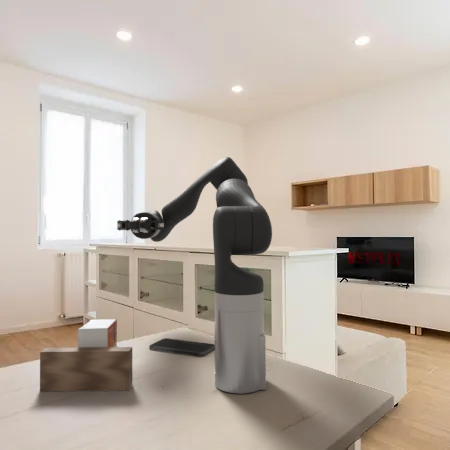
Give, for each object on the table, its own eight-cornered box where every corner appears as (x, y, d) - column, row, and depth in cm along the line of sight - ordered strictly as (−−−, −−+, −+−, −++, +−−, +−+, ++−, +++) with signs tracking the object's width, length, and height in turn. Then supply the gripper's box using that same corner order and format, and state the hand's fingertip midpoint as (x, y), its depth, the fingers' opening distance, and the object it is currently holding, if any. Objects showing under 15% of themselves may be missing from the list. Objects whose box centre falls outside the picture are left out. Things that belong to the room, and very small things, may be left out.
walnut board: (132, 384, 69) (132, 347, 69) (129, 390, 67) (129, 351, 67) (46, 385, 69) (46, 347, 69) (39, 391, 66) (40, 351, 67)
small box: (107, 384, 69) (107, 328, 69) (77, 385, 69) (77, 328, 69) (117, 369, 77) (117, 318, 77) (90, 369, 77) (90, 318, 77)
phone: (202, 353, 84) (147, 346, 90) (202, 358, 84) (147, 350, 90) (216, 344, 92) (165, 337, 98) (216, 349, 92) (165, 342, 98)
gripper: (123, 212, 107) (106, 209, 90) (169, 212, 108) (160, 209, 90) (123, 238, 107) (106, 240, 90) (169, 238, 107) (161, 240, 90)
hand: (133, 225), depth 90 cm, fingers closed
